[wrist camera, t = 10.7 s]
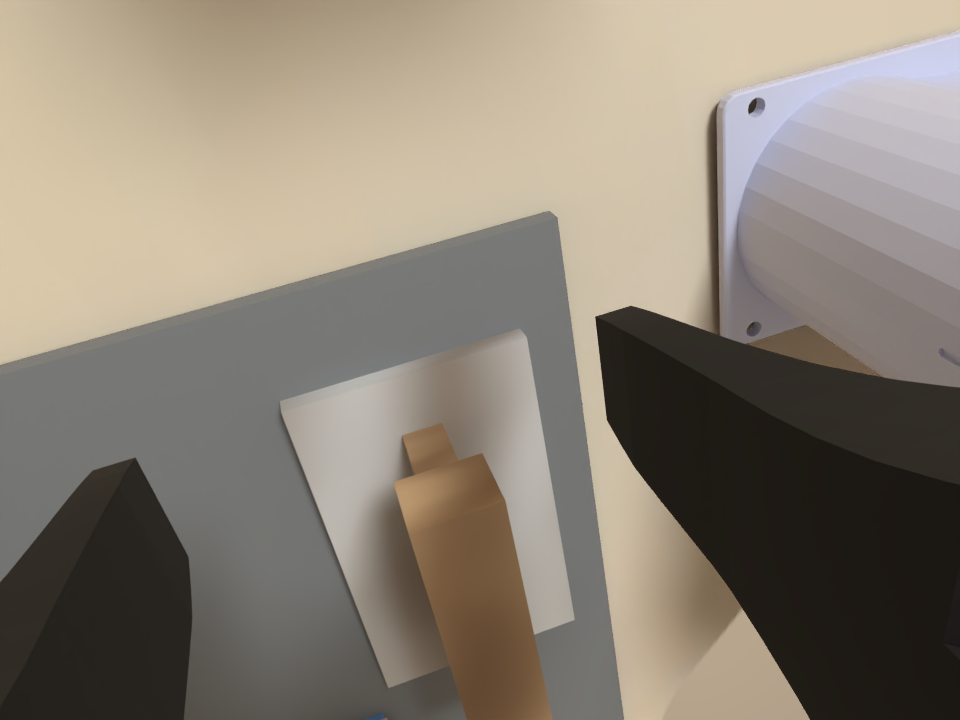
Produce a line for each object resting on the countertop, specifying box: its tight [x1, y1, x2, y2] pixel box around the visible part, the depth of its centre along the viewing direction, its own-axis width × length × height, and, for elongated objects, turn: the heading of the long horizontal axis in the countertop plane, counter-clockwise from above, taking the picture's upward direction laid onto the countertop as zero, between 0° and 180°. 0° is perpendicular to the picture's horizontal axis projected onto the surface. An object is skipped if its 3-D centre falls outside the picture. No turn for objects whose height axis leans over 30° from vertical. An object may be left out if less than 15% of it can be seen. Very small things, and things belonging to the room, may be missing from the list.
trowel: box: [280, 329, 575, 720], centre depth 22 cm, size 7×12×5 cm, turn 11°
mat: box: [0, 211, 624, 720], centre depth 26 cm, size 21×26×1 cm
